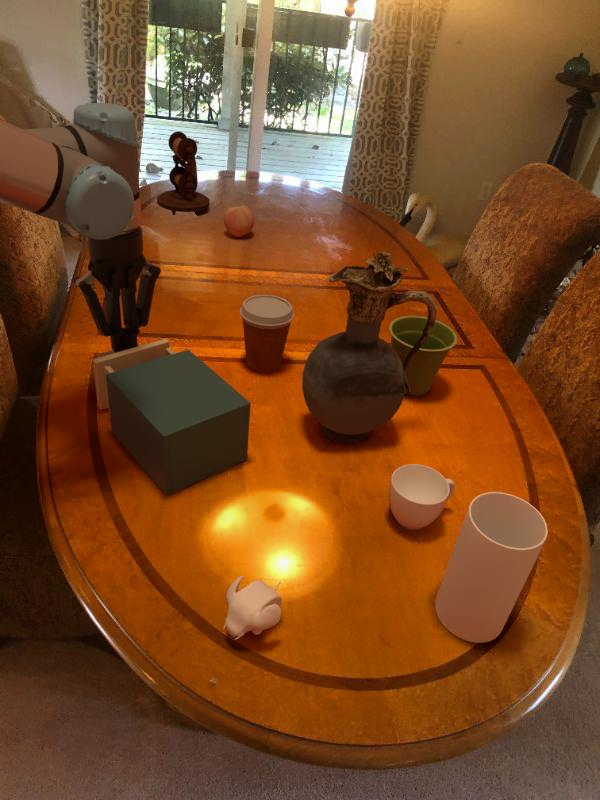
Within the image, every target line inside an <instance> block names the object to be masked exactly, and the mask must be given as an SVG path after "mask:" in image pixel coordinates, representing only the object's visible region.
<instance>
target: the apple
mask: <svg viewBox="0 0 600 800" xmlns="http://www.w3.org/2000/svg"><path fill="white" fill-rule="evenodd" d="M223 225H224V227H225V230H227V232H228V233H229V234H230V235H231V236H233V237H235V238H238V237H239V238H240V237H241V238H242V237H243V236H246V235H247V234H249V233H251V231H252V230H253V228H254V225H255V217H254V213H253V211H252V210H251V208H250V207H248V206H247V205H244V204H243V205H237V206H231V207H228V208H227V209H226V210H225V211H224V215H223Z"/></svg>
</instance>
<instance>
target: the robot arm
mask: <svg viewBox="0 0 600 800" xmlns="http://www.w3.org/2000/svg"><path fill="white" fill-rule="evenodd" d="M135 120H136V119H135V116H134V114H133V112H132V111H131V110H130V109H128V108H127V107H125V106H122V105H120V104H115V103H108V102H88V103H87V102H86V103H85V104H79V105H77V106H76V107H74V110H73V118H72V124H68V125H65V126H52V127H40V128H37V127H36V128H25V129H24V128H21V127H19V126H17V125H13V124H11V123H9V122H7V121H4V120H2V119H0V203H2V204H5V205H8V206H11V207H14V208H18V209H21V210H24V211H27V212H29V213H32V214H34V215H37V216H40V217H43V218H46V219H49V220H51V221H55V222H57V223H61V224H64V225H66V226H69V227H70V228H71V229H72V230H73V231H74V232H76V233H77V234H80V235H83V236H85V237H87V246H88V253H89V262H88V264H87V271H86V272H85V273H84V274H83V275H82V276H75V277H74V278H73V283H74V284H75V285H76V286H77V288H78V289H79V290H80V291H81V292H82V296H84V299H85V302H86V305H87V308H88V310H89V312H90V315H91V317H92V319H93V322H94V325H95V327H96V329H97V331H98V332H100V333H101V334H102V335H103V336H104V337H110V348H111V350H113V351H114V352H115V353H117V352H120V351H124V350H127V349H131V348H134V347H137V346H138V344H139V343H138V335H140V333H141V330H140V328H141V327H142V328H145V327H147V326H148V324H149V320H150V314H151V309H152V303H153V298H154V292H155V287H156V282H157V280H158V278H159V276H160V275H161V272H162V269H161V268H160V267H159V266H158V265H156V264H155V263H154V262H153V261H147V259H146V256H145V255H144V253H143V252H144V240H143V239H144V237H143V228H142V226H141V224H142V207H141V205H142V204H141V194H140V192H141V191H140V169H139V168H140V167H139V151H138V150H139V143H138V141H139V140H138V136H137V134H138V133H137V127H136V121H135ZM139 277H140V279H139ZM138 279H139V285H138V290H137V281H138ZM95 280H97V282H98V283H99V284H100V285H102V290H103V292H104V300H105V301H104V302H105V310H106V315H105V312H104V309H103V307H102V305H101V302H100V299H99V297H98V295H97V293H96V291H95V289H96V283H95ZM136 293H137V295H136ZM136 296H137V297H136ZM120 297H121V298H120ZM120 299H121V300H120ZM121 308H122V310H121ZM122 320H123V321H122ZM122 323H123V324H122ZM123 326H124V327H123Z"/></svg>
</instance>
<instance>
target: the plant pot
mask: <svg viewBox="0 0 600 800" xmlns="http://www.w3.org/2000/svg"><path fill="white" fill-rule="evenodd" d="M427 320H428V316H427V317H426V316H421V315H404V316H400V317H397V318H395V319H393V320H392V321H390V323H389V326H388V331H389V334H390V343H391V347H392V348H393V349H394V350H395V351H396V353H397V354H398V356H399V358H400V360H401V362H402V365H404V362H405V359H406V357H407V355H408V354H409V353H410V352H411V350H412V349H413V347H414V345H415V344H416V343H417V342H418V340H419V339H420V338H421V336H422V334H423V329H424V327H425V325H426V323H427ZM457 342H458V335H457V334H456V332H455V331H454V330H453V328H451V327H450V326H448V325H447V324H446V323H443V322H442V321H439V320H437V319H436V320H435V324H434V326H433V328H432V331H431V333H430V334H429V335H428V337H427V338H426V340H425V342H424V343H423V344H422V346H421V347H420V348H419V350H418V351H417V352H416V353H415V355H413V356H412V358H411V359H410V362H409V364H408V365H407V367H406V380H407V382H408V385H409V387H410V390H411V394H410V393H409V391H408V390H407V388H406V385H405V392H404V395H413V396H422V395H425V394H428V392H429V391H430V390H431V387H432V386H433V383H434V381H435V379H436V377H437V375H438V373H439V371H440V369H441V367H442V364H443V363H444V361H445V359H446V357H447V356H448V355H449V353H450V352H451V349H453V348H454V347H455V346H457V345H456V344H457Z"/></svg>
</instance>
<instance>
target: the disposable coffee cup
mask: <svg viewBox="0 0 600 800" xmlns="http://www.w3.org/2000/svg"><path fill="white" fill-rule="evenodd" d="M239 313H240V317H241V319H242V327H243V339H244V350H245V351H244V352H245V361H246V366H247V367H248V369H250V370H251V371H254V372H256V373H261V374H269V373H273V372H276V371H277V370H279V369H280V368H281V364H282V361H283V356H284V353H285V349H286V344H287V339H288V336H289V331H290V327H291V324H292V322H293V320H294V318H295V311H294V309H293V305H292V303H290V301H288V299H285V298H283V297H281V296H278V295H272V294H256V295H252V296H249V297H247V298H246V299H244V301H243V303H242V305H241V307H240V308H239Z"/></svg>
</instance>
